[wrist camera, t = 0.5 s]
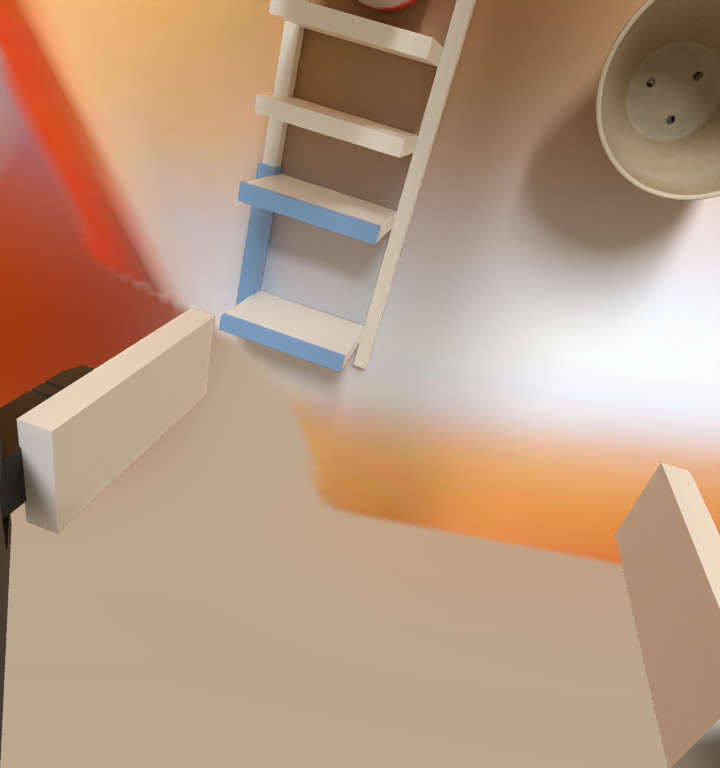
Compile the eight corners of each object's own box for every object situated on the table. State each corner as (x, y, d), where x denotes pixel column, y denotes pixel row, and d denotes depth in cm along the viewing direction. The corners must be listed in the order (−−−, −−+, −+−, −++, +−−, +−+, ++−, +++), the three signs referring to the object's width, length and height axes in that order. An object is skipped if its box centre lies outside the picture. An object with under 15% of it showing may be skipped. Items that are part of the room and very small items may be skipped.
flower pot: (595, 205, 36) (613, 225, 29) (565, 34, 32) (579, 15, 26) (778, 152, 32) (843, 162, 26) (767, -45, 29) (838, -90, 23)
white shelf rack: (326, -211, 30) (284, -286, 24) (524, -162, 29) (528, -229, 23) (240, 319, 45) (201, 348, 40) (368, 364, 44) (346, 400, 39)
